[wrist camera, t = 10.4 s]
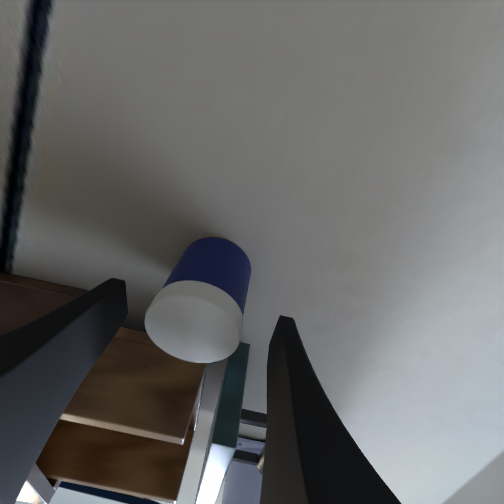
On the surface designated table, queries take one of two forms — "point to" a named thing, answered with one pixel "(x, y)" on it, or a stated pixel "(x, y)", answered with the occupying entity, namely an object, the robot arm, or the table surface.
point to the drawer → (148, 423)
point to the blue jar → (202, 303)
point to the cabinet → (15, 316)
